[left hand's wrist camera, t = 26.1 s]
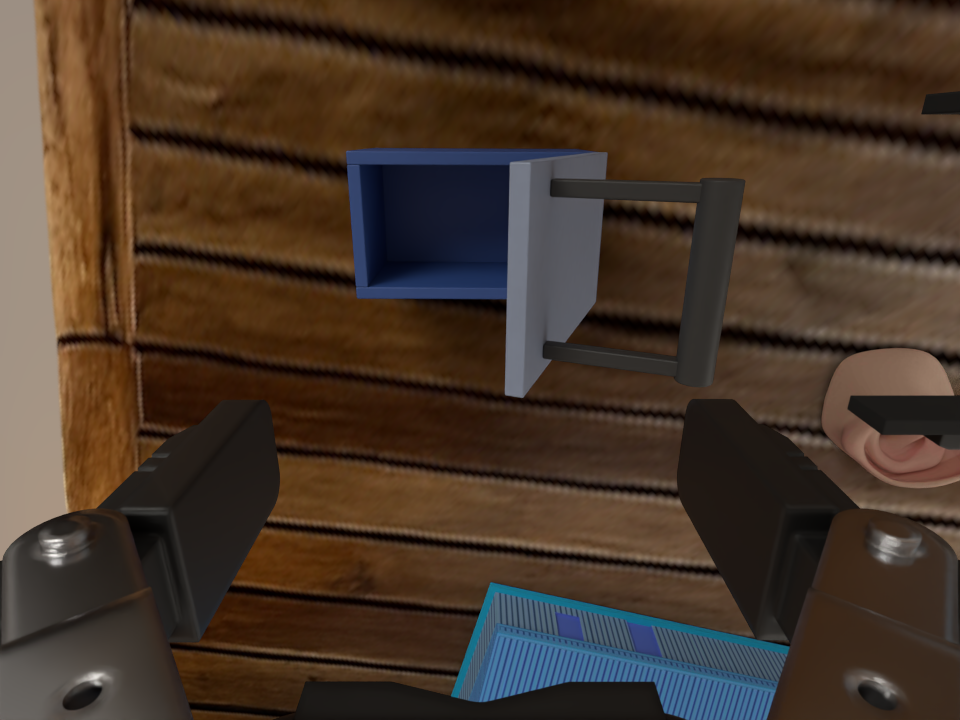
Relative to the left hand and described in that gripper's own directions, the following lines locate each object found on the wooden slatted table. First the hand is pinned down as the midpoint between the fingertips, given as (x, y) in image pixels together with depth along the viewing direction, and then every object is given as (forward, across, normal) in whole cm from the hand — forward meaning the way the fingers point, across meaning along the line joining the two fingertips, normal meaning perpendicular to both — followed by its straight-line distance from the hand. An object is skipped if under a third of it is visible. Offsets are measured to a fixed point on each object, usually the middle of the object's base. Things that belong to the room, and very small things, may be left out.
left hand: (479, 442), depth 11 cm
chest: (+36, 0, 0) cm, 37 cm away
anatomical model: (+36, +36, -17) cm, 54 cm away
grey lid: (+19, +4, 0) cm, 20 cm away
